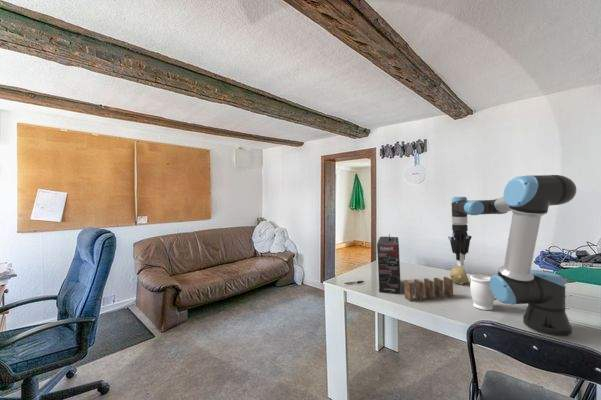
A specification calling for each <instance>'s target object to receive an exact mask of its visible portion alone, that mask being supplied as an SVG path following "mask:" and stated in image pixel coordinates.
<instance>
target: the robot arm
mask: <svg viewBox="0 0 601 400" xmlns="http://www.w3.org/2000/svg"><path fill="white" fill-rule="evenodd" d="M577 191H578V190H577V186H576V184H575V182H574V181H573V180H572V179H571V178H569V177H567V176H565V175H559V174H548V175H547V174H543V175H542V174H541V175H536V174H534V175H530V174H528V175H521V176H515V177H513V178H512V179H511V180H509V181H507V183H506V185H505V187H504V189H503V196H501V197H498V198H495V199H481V200H480V199H479V200H468V198H467V197H466V196H453V197H452V198H451V203H450V205H451V223H452V225H451V230H452V235H451V236H448V239H449V242H450V247H451V252H452V253H453V254H455V260H456V263H457V264H456V266H457V267H465V259H466V258H465V257H466V256H465V255H467V254H469V250H470V244H471V239H472V236H471V235H470V234H468V231H469V230H468V229H469V228H468V215H469V216H480V215H503V214H504V215H505V214H507V213H508V212H512V217H511V221H510V222H511V223H510V227H509V235H508V238H507V244H506V251H505V257H504V263H503V265H502V266H499V268H498V272H497V274H493V275H492V276H490V277H491V278H490V288H491V291H492V293H493V295H494V296H495V297H494V298H495V299H496V300H497V301H499V302H500V303H501V304H505V305H527V307H526V310H525V312H524V314H523V317H522V318H523V319H522V320H523V321H522V322H523V324H524V325H525V326H526V327H528V328H530V329H532V330H534V331H537V332H539V333H542V334H546V335H551V336H557V337H566V336H571V335H572V334H573V327H572V325H571V323H570V320H569V317H568V315H567V313H566V312H567V311H566V283H565V282H566V281H565V278H564V277H563V276H562V275H559V274H558V273H553V272H550V271H545V270H540V269H532V264H533V261H534V260H533V259H534V253H535V249H536V244H537V239H538V233H539V230H540V224H541V220H542V219H541V218H542V216H544V215H546V214H548V212H549V207H550V206H559V205H560V206H561V205H564V204H567V203H569V202H570V201H572V200H573V199H574V198H575V196H576V195H577Z"/></svg>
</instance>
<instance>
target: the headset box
mask: <svg viewBox="0 0 601 400" xmlns="http://www.w3.org/2000/svg"><path fill="white" fill-rule="evenodd" d="M376 250H377V251H376V253H377V269H378V271H377V272H378V273H377V274H378V289H379V291H378V292H379V293H383V294H398V295H400V294H401V266H400V265H401V264H400V259H401V258H400V243H399V237H398V236H391V233H389V235H388V236H379V238H378V240H377V243H376Z"/></svg>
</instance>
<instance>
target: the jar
mask: <svg viewBox="0 0 601 400" xmlns="http://www.w3.org/2000/svg"><path fill="white" fill-rule="evenodd" d="M491 277H492V276H491V275H490V276H489V275H485V274H472V275H470V276H469V278H470V287H469V288H470V289H469V290H470V294H471V299H472V301H473V303H472V306H473V307H474V308H475V309H479V310H481V311H491V310H493V309H494V306H493V304H494V302H495V298H496V297H495V296H494V295H493V293H492V291H491V288H490V278H491Z"/></svg>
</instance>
